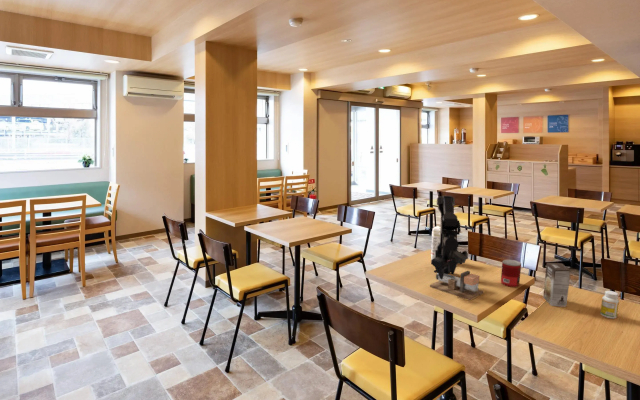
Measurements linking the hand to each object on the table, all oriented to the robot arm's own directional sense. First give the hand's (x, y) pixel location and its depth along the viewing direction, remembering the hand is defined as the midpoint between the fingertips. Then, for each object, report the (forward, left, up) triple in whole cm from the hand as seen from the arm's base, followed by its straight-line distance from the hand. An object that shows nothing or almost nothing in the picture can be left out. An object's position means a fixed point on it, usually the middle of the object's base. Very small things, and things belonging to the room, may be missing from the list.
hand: (446, 276), depth 182 cm
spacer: (+12, 0, +1) cm, 12 cm away
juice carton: (-24, +32, -5) cm, 40 cm away
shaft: (+5, 0, -3) cm, 6 cm away
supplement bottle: (+58, +22, -5) cm, 62 cm away
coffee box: (+40, +20, -5) cm, 44 cm away
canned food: (+18, +26, -5) cm, 32 cm away
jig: (+5, 0, -5) cm, 7 cm away
